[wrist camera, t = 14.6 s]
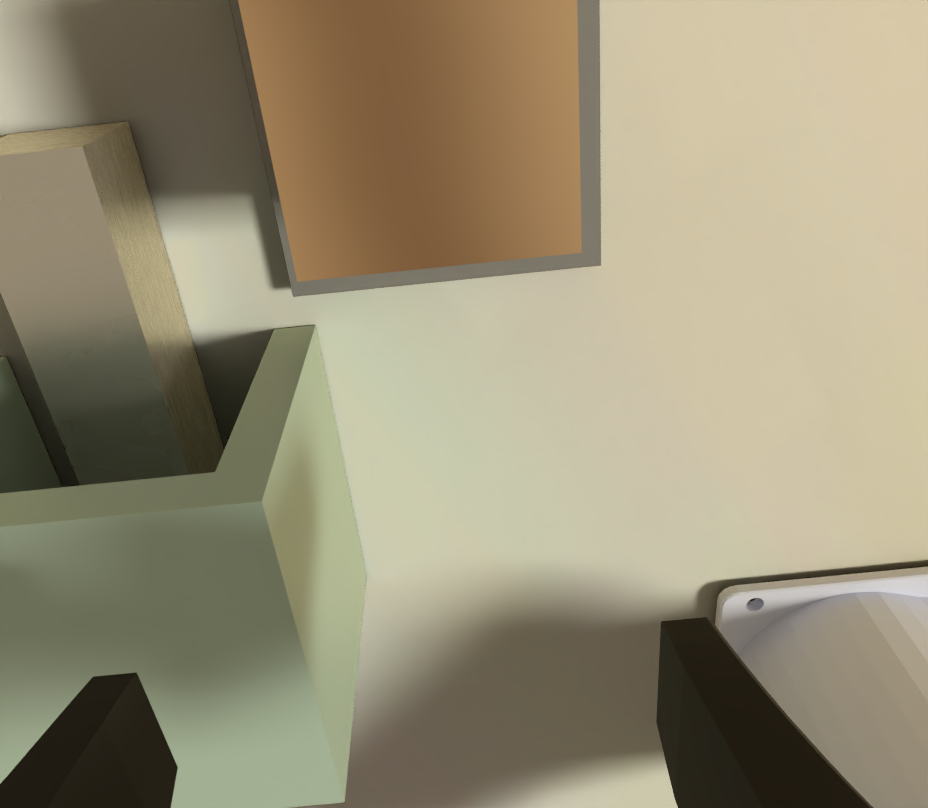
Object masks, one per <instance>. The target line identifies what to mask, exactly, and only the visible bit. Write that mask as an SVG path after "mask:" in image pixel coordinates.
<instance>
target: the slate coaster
mask: <svg viewBox="0 0 928 808" xmlns="http://www.w3.org/2000/svg"><path fill="white" fill-rule="evenodd" d="M229 1H230V6H231V11H232V15H233V20H234V25H235V29H236V34H237V38H238V43H239V48H240V52H241V57H242V62H243V66H244V71H245V76H246V80H247V85H248V90H249V94H250V99H251V103H252V108H253V113H254V117H255V122H256V127H257V131H258V136H259V141H260V145H261V150H262V155H263V159H264V164H265V169H266V173H267V178H268V182H269V187H270V192H271V196H272V201H273V206H274V210H275V215H276V220H277V224H278V229H279V234H280V238H281V243H282V247H283V252H284V257H285V261H286V266H287V271H288V275H289V280H290V285H291V289H292V294H293V297H296V296H305V295H315V294H325V293H335V292H345V291H354V290H364V289H374V288H384V287H394V286H403V285H413V284H423V283H433V282H443V281H453V280H462V279H472V278H482V277H492V276H502V275H511V274H521V273H531V272H541V271H551V270H560V269H570V268H580V267H590V266H600V265H601V195H600V14H599V0H577V15H578V70H579V126H580V182H581V238H582V253H574V254H565V255H555V256H545V257H535V258H525V259H516V260H506V261H496V262H486V263H476V264H467V265H457V266H447V267H437V268H427V269H417V270H408V271H398V272H388V273H378V274H368V275H359V276H349V277H339V278H329V279H319V280H310V281H300V282H297V278H296V274H295V269H294V264H293V259H292V255H291V250H290V245H289V240H288V235H287V231H286V226H285V221H284V216H283V212H282V207H281V202H280V197H279V193H278V188H277V183H276V178H275V174H274V169H273V164H272V159H271V155H270V150H269V145H268V140H267V136H266V131H265V126H264V121H263V117H262V112H261V107H260V102H259V97H258V93H257V88H256V83H255V78H254V74H253V69H252V64H251V59H250V55H249V50H248V45H247V40H246V36H245V31H244V26H243V21H242V17H241V12H240V7H239V2H238V0H229Z"/></svg>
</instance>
